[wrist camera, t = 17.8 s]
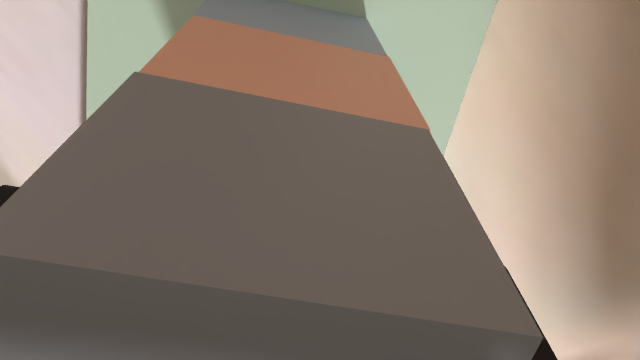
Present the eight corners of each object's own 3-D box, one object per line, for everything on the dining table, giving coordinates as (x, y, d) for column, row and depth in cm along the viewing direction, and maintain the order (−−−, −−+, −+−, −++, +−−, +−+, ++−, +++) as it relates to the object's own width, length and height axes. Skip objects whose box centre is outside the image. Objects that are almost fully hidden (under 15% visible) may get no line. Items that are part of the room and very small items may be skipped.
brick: (389, 56, 16) (430, 130, 11) (344, 219, 19) (360, 342, 14) (193, 15, 16) (138, 73, 10) (174, 190, 18) (122, 308, 13)
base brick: (366, 18, 22) (387, 55, 16) (334, 150, 24) (343, 219, 19) (219, -14, 21) (191, 15, 16) (202, 126, 24) (173, 191, 18)
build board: (516, -89, 21) (527, -88, 20) (404, 242, 28) (408, 255, 27) (101, -191, 19) (90, -197, 18) (93, 191, 26) (85, 203, 25)
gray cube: (428, 129, 11) (544, 337, 6) (357, 341, 14) (392, 616, 8) (134, 71, 10) (-42, 249, 5) (120, 306, 13) (-6, 586, 8)
